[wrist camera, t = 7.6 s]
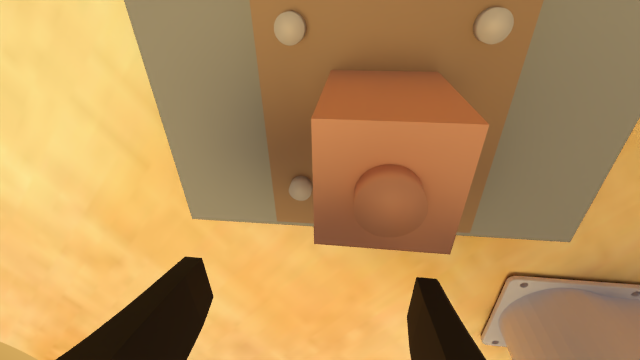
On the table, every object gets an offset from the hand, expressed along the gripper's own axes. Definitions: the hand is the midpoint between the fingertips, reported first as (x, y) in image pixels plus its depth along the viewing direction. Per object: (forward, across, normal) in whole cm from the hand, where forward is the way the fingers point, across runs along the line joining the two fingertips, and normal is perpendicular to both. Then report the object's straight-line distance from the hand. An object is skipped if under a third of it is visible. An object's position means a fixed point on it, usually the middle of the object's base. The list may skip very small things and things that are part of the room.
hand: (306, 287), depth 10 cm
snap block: (+7, -2, -3) cm, 8 cm away
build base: (+9, -2, -4) cm, 10 cm away
